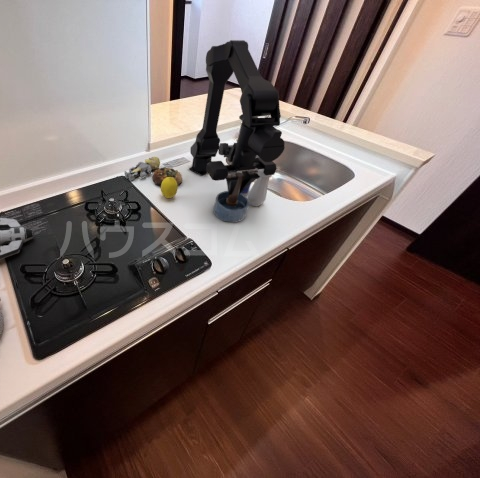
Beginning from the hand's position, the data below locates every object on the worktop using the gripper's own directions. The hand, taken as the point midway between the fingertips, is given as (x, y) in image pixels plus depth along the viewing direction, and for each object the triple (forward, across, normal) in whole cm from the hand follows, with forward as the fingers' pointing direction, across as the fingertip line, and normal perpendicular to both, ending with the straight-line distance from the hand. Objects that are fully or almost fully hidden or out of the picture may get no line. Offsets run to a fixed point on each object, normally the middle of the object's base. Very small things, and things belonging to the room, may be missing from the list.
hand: (234, 193), depth 77 cm
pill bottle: (+8, -9, -10) cm, 15 cm away
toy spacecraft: (+8, +72, +3) cm, 73 cm away
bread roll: (+7, +15, -22) cm, 28 cm away
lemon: (+8, +17, -11) cm, 22 cm away
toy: (+6, +29, -25) cm, 39 cm away
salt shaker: (+8, -11, -3) cm, 14 cm away
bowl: (+7, 0, 0) cm, 7 cm away
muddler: (+4, 0, 0) cm, 4 cm away
